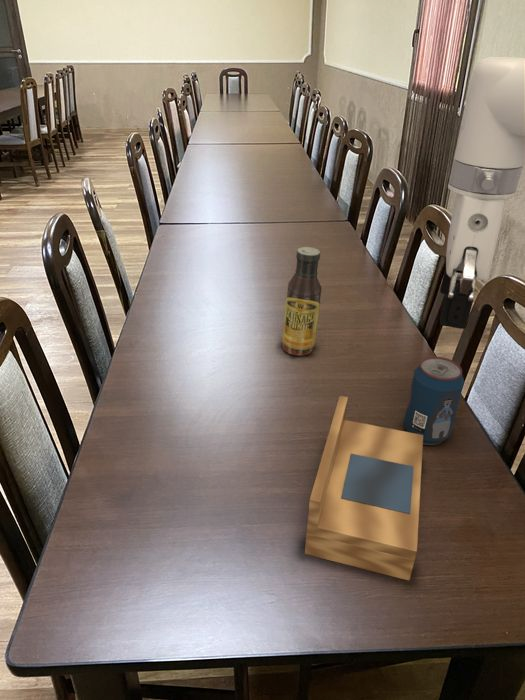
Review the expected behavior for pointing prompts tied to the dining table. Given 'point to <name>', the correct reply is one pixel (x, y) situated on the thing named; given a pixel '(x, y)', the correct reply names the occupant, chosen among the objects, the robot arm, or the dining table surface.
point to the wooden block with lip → (366, 497)
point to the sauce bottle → (302, 304)
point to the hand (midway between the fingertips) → (451, 309)
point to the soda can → (434, 399)
